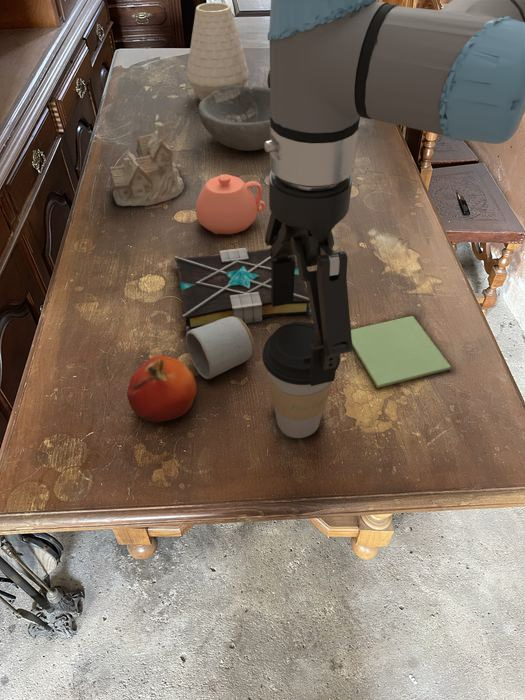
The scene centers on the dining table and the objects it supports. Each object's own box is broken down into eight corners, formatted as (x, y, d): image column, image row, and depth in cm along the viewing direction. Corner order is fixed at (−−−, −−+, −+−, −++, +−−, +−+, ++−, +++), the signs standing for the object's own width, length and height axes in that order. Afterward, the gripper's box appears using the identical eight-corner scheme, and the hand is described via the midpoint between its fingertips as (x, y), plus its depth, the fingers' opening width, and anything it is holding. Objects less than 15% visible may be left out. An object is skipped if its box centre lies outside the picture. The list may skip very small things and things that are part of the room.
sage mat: (450, 369, 81) (451, 366, 81) (377, 388, 79) (377, 385, 78) (412, 318, 89) (412, 315, 89) (344, 333, 87) (345, 331, 86)
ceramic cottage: (178, 164, 127) (166, 100, 116) (187, 202, 116) (174, 136, 105) (112, 176, 126) (93, 112, 114) (115, 216, 115) (94, 150, 104)
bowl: (192, 162, 128) (188, 119, 121) (210, 122, 144) (207, 82, 137) (289, 166, 126) (290, 123, 119) (296, 125, 142) (297, 85, 135)
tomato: (201, 382, 80) (196, 344, 74) (195, 433, 74) (188, 395, 68) (139, 381, 80) (129, 343, 75) (127, 432, 74) (115, 395, 68)
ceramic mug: (258, 365, 82) (257, 328, 77) (212, 389, 79) (207, 352, 73) (221, 327, 88) (217, 290, 83) (177, 348, 85) (170, 311, 80)
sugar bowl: (193, 211, 113) (188, 165, 106) (259, 203, 115) (258, 157, 108) (201, 244, 105) (196, 196, 97) (271, 235, 107) (271, 187, 99)
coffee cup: (302, 461, 70) (307, 386, 59) (249, 422, 75) (245, 346, 64) (345, 418, 75) (357, 341, 64) (293, 384, 80) (296, 306, 69)
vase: (192, 114, 148) (182, 18, 131) (186, 91, 159) (175, 0, 143) (255, 108, 150) (253, 13, 133) (244, 85, 162) (240, -4, 145)
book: (291, 257, 101) (292, 234, 98) (314, 316, 90) (315, 293, 86) (176, 271, 99) (172, 248, 95) (183, 334, 87) (179, 310, 84)
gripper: (234, 120, 56) (241, 281, 71) (323, 258, 39) (307, 430, 55) (302, 111, 58) (295, 271, 73) (415, 240, 41) (375, 412, 56)
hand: (300, 339), depth 64 cm, fingers open, 13 cm apart
